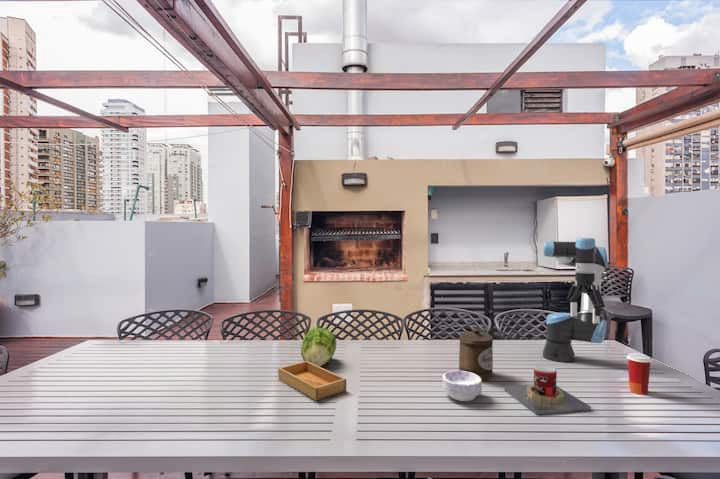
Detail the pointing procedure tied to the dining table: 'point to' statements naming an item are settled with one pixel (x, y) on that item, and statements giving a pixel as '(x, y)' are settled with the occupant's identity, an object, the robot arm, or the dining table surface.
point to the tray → (312, 380)
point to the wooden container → (476, 353)
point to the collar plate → (546, 406)
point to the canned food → (545, 380)
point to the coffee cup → (638, 372)
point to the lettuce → (318, 346)
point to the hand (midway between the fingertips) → (584, 319)
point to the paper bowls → (462, 385)
